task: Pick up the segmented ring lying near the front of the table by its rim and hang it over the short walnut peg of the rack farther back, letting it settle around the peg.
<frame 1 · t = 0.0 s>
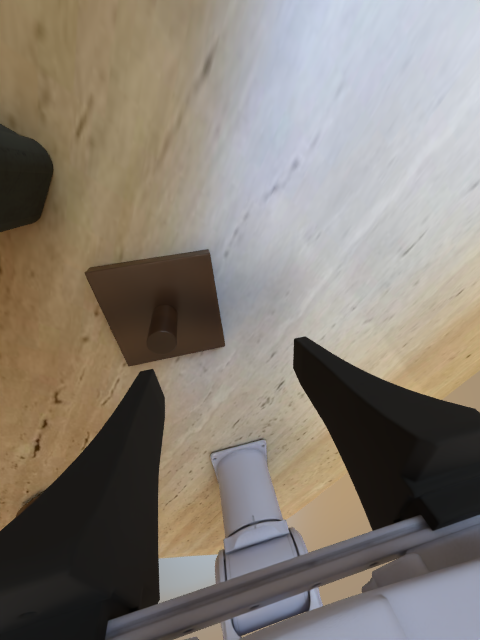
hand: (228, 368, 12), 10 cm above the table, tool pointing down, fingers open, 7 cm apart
rack: (166, 308, 20), on the table
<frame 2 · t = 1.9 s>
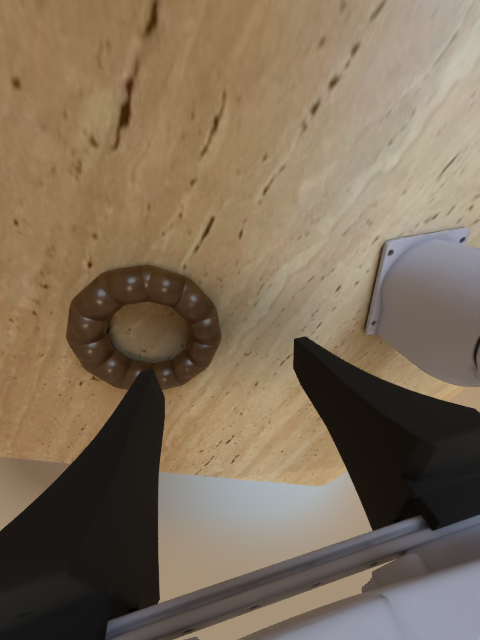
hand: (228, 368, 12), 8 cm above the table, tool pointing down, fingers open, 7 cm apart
segmented ring: (150, 335, 18), point 1 cm above the table
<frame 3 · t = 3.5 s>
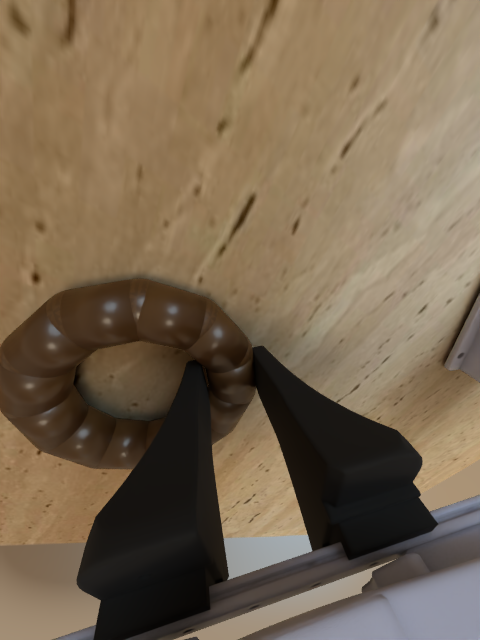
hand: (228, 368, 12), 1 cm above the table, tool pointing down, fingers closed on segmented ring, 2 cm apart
segmented ring: (145, 389, 11), point 1 cm above the table, touching gripper
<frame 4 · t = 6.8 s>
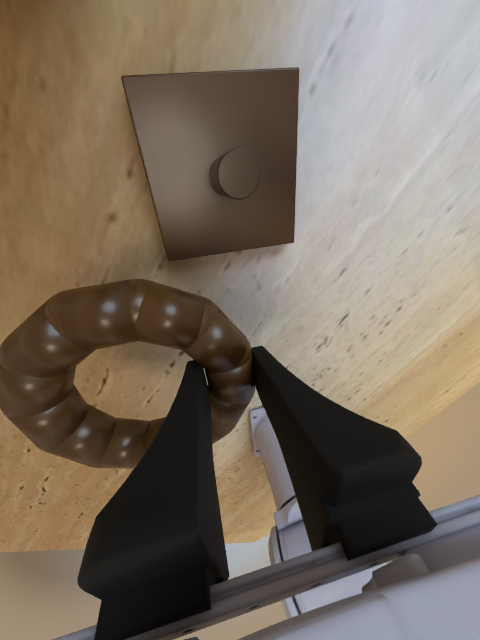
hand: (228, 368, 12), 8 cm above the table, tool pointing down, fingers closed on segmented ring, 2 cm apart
rack: (222, 176, 15), on the table
segmented ring: (144, 389, 11), point 9 cm above the table, touching gripper
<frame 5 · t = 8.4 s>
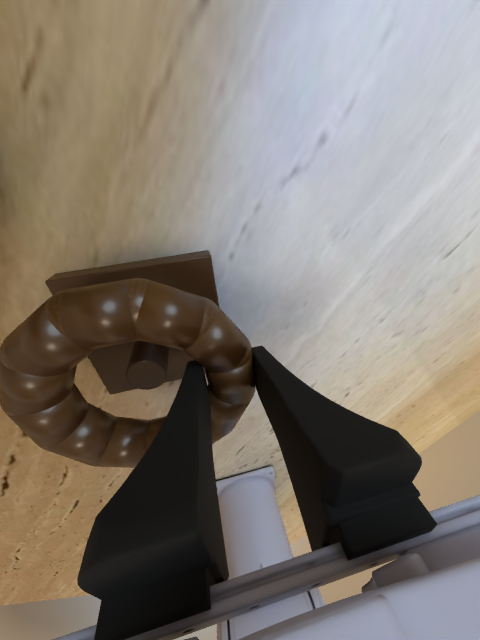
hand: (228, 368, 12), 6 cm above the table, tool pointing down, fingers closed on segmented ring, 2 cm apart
rack: (156, 323, 16), on the table
segmented ring: (145, 388, 11), point 6 cm above the table, touching gripper
when the fingers open (2 cm above the table, at t = 9.9 s): segmented ring stays where it is, resting on rack.
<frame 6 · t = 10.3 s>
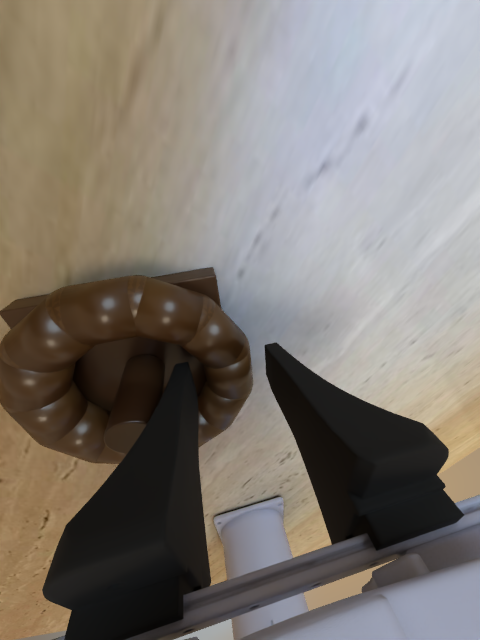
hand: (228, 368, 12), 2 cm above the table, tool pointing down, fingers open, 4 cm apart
rack: (148, 354, 13), on the table
segmented ring: (143, 385, 11), point 2 cm above the table, touching rack
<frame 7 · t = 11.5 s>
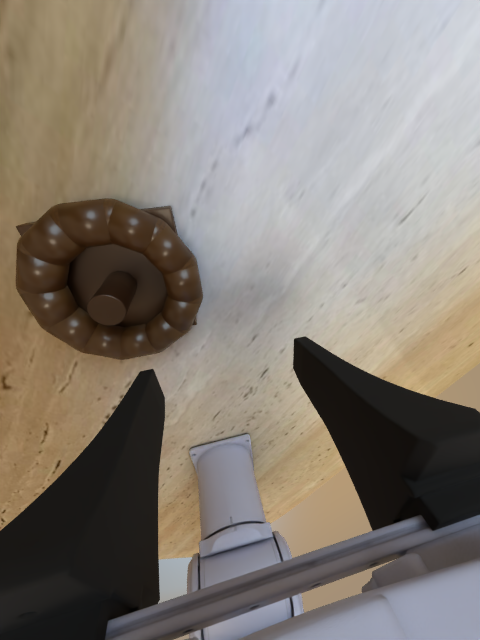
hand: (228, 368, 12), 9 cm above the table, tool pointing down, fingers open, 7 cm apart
rack: (125, 278, 18), on the table
segmented ring: (119, 290, 16), point 2 cm above the table, touching rack
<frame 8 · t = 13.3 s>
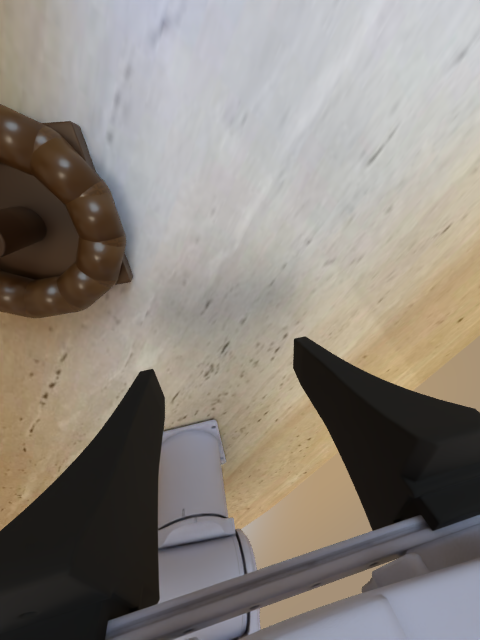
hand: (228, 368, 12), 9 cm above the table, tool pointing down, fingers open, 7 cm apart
rack: (37, 222, 15), on the table
segmented ring: (15, 228, 13), point 2 cm above the table, touching rack
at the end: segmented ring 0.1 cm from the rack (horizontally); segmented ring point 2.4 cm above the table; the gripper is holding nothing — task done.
